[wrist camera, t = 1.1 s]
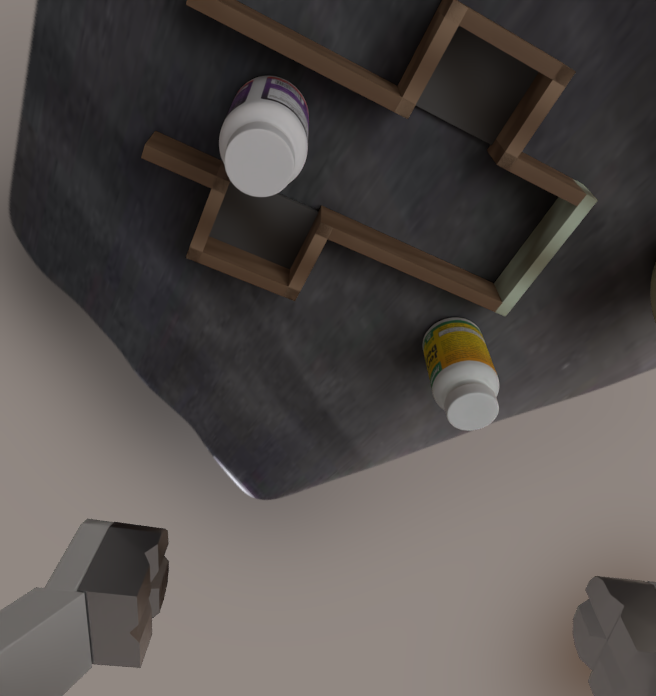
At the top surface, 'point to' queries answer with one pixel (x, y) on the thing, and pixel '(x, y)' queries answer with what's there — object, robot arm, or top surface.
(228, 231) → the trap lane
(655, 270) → the flower pot
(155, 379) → the top surface
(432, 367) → the supplement bottle
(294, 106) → the pill bottle
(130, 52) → the top surface
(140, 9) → the top surface
